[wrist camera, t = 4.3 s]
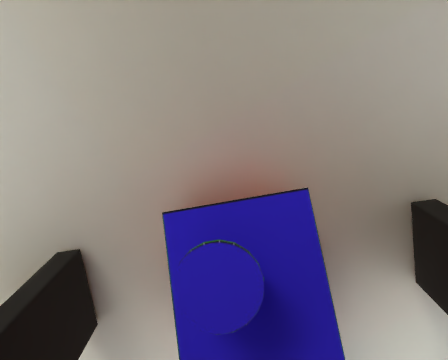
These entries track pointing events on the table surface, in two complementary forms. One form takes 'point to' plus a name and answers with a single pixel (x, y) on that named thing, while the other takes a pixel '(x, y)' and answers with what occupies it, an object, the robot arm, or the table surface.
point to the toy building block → (251, 281)
